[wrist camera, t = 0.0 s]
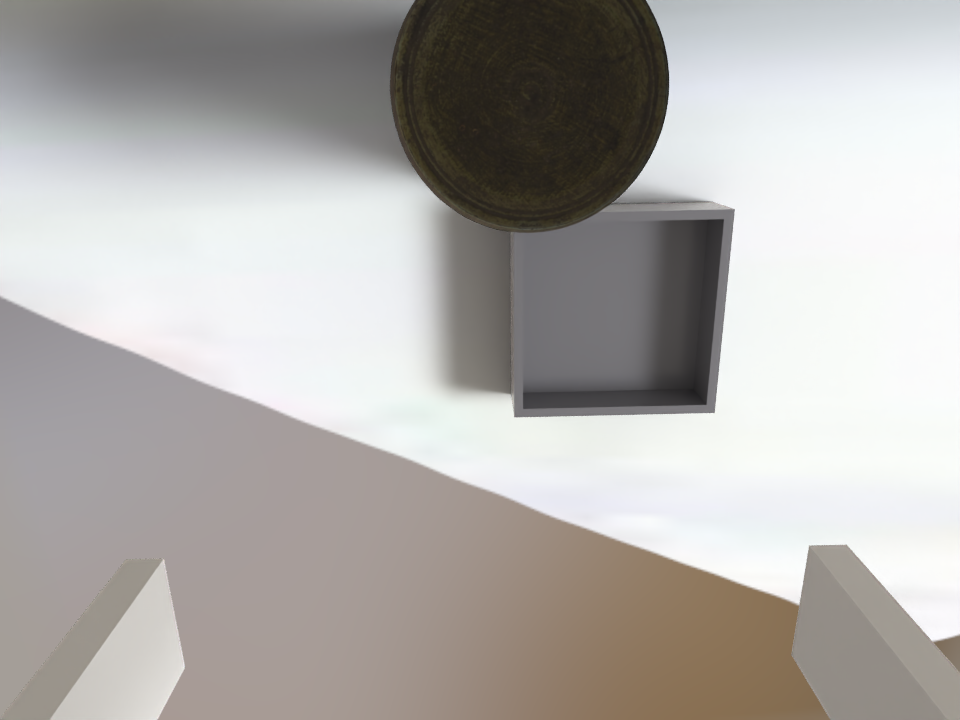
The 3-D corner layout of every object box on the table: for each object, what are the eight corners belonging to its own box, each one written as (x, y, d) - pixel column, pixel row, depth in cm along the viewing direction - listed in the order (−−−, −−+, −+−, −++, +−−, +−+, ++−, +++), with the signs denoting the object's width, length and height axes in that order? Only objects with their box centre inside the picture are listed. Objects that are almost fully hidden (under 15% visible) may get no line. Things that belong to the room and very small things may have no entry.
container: (420, 189, 39) (380, 241, 22) (423, 12, 36) (378, -89, 19) (579, 195, 39) (663, 252, 22) (595, 20, 36) (705, -72, 19)
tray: (510, 206, 39) (513, 214, 36) (712, 201, 39) (734, 209, 36) (511, 394, 43) (514, 417, 39) (695, 390, 43) (714, 412, 40)
